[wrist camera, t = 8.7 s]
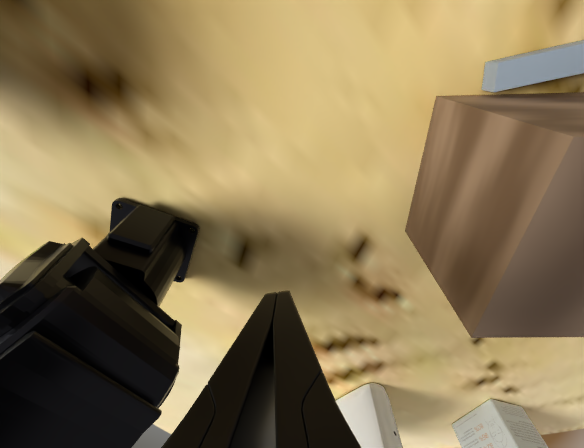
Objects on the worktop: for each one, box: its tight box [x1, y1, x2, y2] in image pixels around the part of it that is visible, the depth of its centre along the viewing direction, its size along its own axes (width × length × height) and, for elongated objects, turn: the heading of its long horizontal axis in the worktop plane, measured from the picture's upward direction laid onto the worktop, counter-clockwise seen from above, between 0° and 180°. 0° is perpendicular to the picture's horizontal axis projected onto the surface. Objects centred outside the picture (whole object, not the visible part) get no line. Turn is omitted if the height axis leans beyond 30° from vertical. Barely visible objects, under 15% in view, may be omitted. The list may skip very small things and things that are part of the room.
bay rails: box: [482, 40, 584, 92], centre depth 19 cm, size 10×16×1 cm, turn 12°
